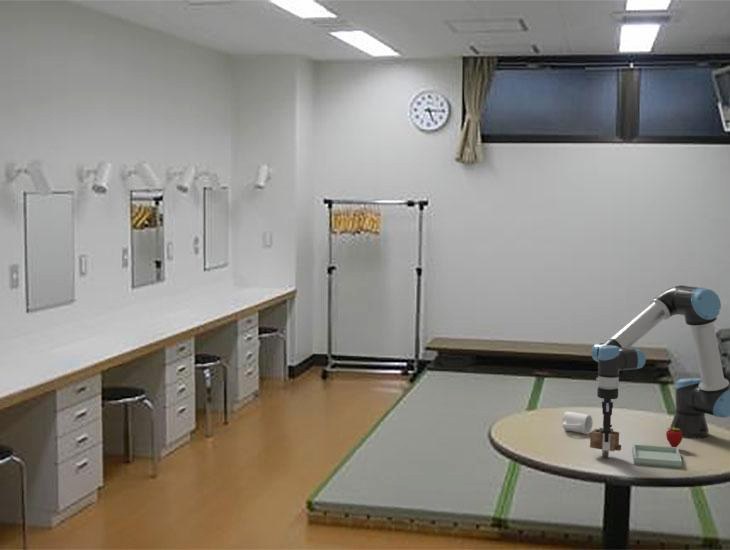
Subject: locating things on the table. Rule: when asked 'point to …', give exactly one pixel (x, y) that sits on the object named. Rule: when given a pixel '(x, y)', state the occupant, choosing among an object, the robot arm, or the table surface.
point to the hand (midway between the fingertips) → (606, 447)
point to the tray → (656, 456)
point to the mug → (577, 422)
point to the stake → (605, 452)
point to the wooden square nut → (597, 440)
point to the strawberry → (674, 436)
